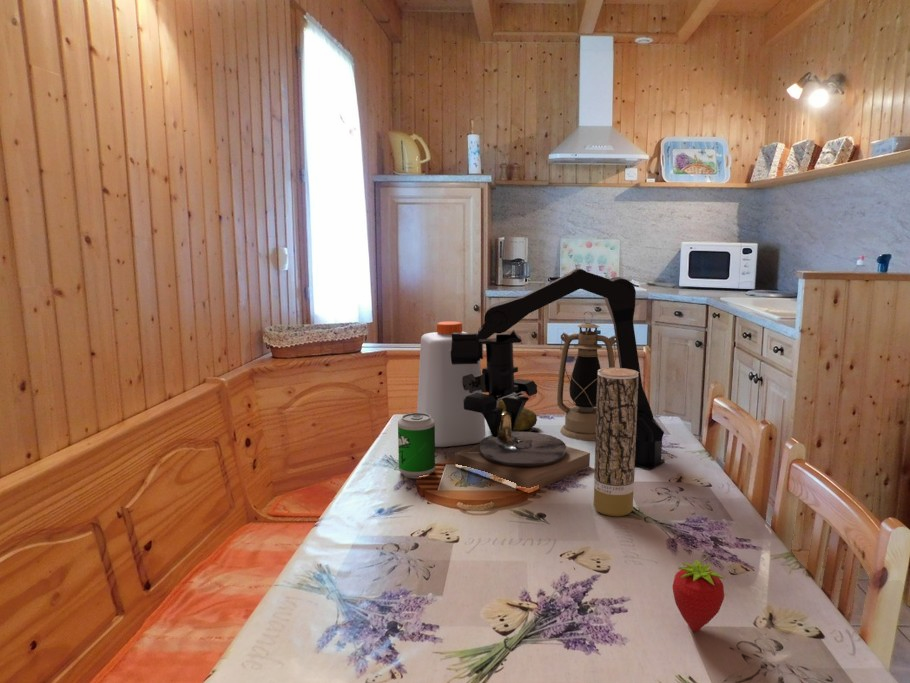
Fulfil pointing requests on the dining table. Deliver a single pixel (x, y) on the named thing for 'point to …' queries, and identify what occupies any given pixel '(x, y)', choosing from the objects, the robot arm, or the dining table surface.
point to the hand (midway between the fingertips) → (502, 433)
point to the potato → (522, 418)
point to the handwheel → (521, 447)
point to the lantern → (583, 381)
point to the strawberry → (698, 594)
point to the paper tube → (615, 440)
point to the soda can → (416, 444)
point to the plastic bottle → (447, 389)
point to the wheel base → (527, 475)
